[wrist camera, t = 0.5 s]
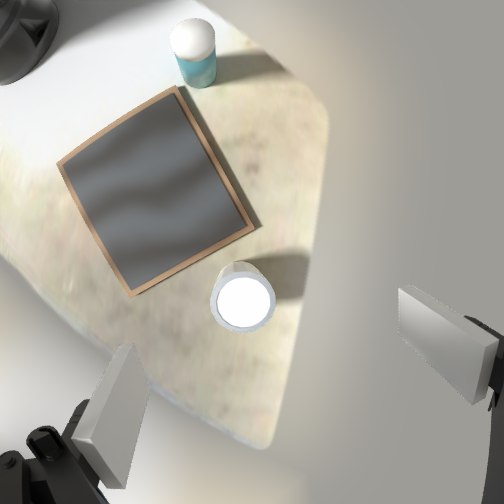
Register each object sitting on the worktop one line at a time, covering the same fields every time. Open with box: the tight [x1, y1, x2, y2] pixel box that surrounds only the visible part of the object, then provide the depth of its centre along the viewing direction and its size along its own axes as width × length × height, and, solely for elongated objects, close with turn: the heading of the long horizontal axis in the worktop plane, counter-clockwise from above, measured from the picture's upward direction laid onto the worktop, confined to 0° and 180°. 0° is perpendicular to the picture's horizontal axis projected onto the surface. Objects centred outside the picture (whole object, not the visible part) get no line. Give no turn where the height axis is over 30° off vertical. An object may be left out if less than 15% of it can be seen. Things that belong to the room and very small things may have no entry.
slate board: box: [56, 85, 255, 298], centre depth 36 cm, size 20×18×1 cm
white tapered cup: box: [210, 261, 276, 333], centre depth 36 cm, size 7×7×7 cm
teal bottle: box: [170, 18, 216, 89], centre depth 29 cm, size 4×4×11 cm
